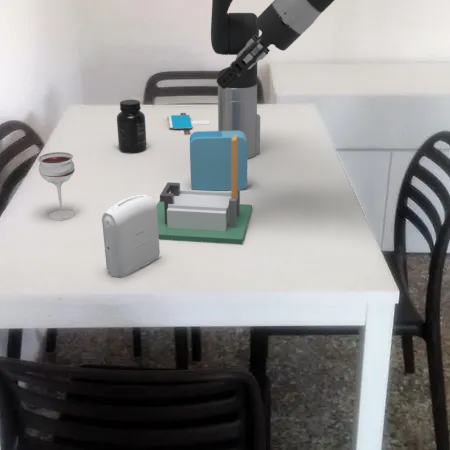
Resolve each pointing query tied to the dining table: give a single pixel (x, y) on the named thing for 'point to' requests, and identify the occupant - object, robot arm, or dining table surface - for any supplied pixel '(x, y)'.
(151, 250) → the photo printer
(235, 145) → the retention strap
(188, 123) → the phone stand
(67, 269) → the dining table surface
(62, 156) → the wineglass
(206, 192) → the processor board
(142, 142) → the supplement bottle
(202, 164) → the blue rounded block
